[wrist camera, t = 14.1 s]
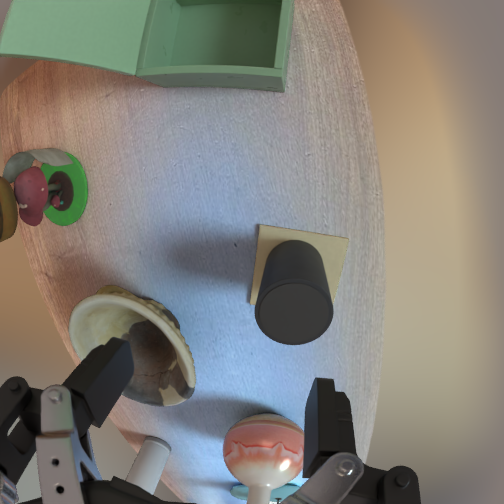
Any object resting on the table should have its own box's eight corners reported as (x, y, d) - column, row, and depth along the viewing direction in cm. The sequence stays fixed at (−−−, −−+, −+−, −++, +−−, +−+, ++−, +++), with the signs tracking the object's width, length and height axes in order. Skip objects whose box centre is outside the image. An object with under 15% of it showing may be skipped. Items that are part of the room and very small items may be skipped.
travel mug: (177, 452, 52) (150, 522, 34) (154, 450, 54) (125, 515, 35) (163, 437, 50) (132, 510, 32) (140, 435, 52) (107, 502, 33)
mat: (348, 238, 31) (349, 239, 31) (329, 314, 35) (329, 316, 35) (260, 224, 32) (259, 225, 32) (250, 302, 36) (249, 304, 35)
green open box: (294, 4, 23) (293, -25, 17) (284, 92, 27) (282, 77, 21) (178, 4, 24) (156, -19, 18) (163, 87, 28) (134, 76, 22)
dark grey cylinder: (328, 244, 32) (342, 285, 22) (316, 296, 34) (323, 350, 25) (269, 235, 32) (259, 272, 23) (262, 288, 35) (250, 339, 25)
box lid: (53, -75, 4) (47, -70, 4) (-2, 53, 8) (-7, 57, 9) (157, -22, 17) (151, -20, 17) (135, 75, 21) (129, 76, 22)
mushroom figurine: (107, 211, 34) (23, 249, 20) (52, 237, 37) (-19, 274, 23) (82, 129, 31) (-7, 134, 17) (30, 167, 34) (-45, 186, 20)
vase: (325, 419, 42) (327, 510, 26) (276, 450, 47) (266, 526, 30) (259, 387, 41) (241, 488, 24) (215, 423, 46) (191, 504, 29)
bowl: (85, 298, 40) (48, 329, 31) (159, 238, 35) (118, 268, 26) (155, 379, 44) (132, 420, 35) (241, 344, 38) (227, 394, 29)
